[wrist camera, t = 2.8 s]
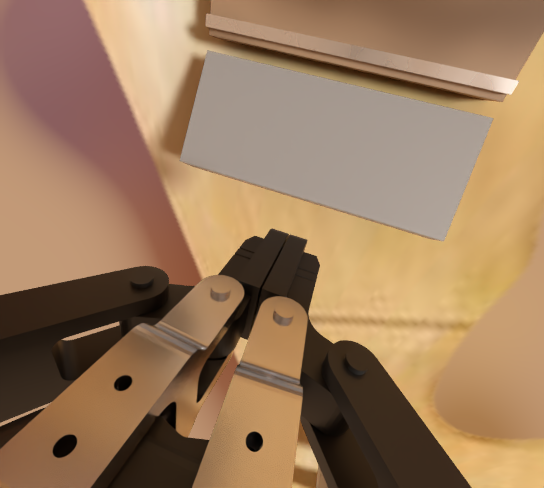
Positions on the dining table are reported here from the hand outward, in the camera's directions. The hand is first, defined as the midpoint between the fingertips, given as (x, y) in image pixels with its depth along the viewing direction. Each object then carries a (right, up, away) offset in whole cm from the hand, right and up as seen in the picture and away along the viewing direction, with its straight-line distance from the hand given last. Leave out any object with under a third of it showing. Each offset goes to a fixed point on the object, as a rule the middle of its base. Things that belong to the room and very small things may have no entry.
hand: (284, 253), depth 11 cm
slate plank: (+3, +7, +7) cm, 10 cm away
